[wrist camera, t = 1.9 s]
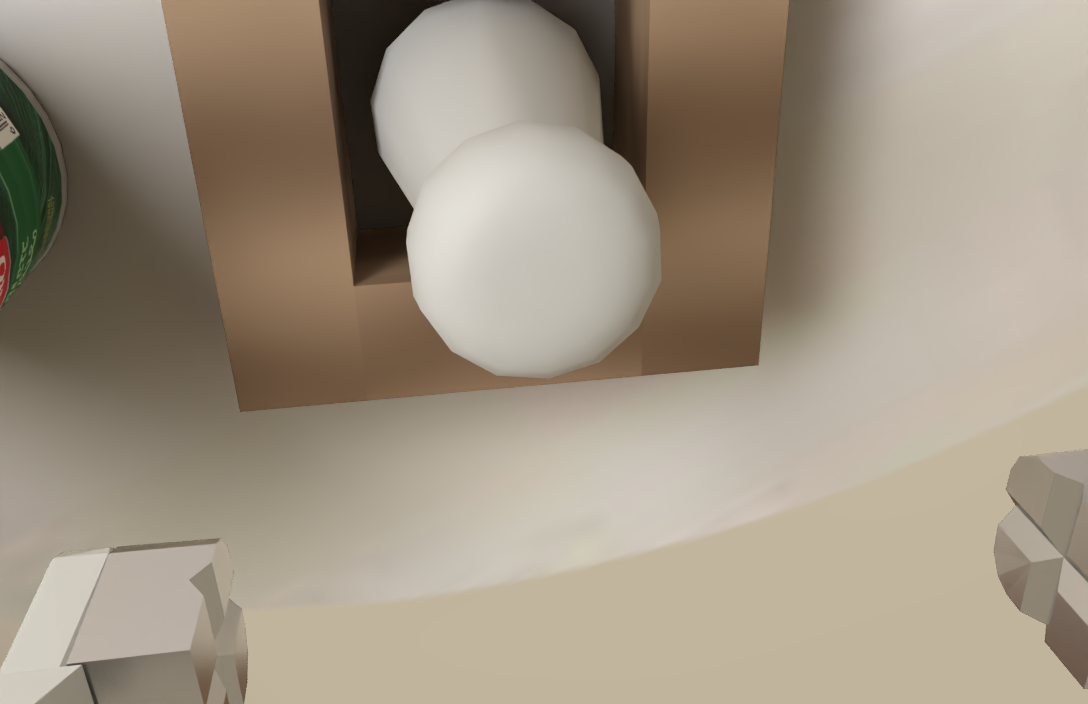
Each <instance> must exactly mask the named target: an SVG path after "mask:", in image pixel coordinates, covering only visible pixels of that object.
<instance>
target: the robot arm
mask: <svg viewBox="0 0 1088 704" xmlns="http://www.w3.org/2000/svg"><path fill="white" fill-rule="evenodd" d="M1006 490H1007V492H1008V494H1009V495H1010V497H1011V499H1012V500H1013V502H1014V503H1015V505H1016V506H1015V507H1014V508H1013V509H1012V510H1011V511H1010V512H1009V513H1008V514H1007V515H1006V517H1005V518H1004V519H1003V520H1002V521H1001V522H1000V523H999V524H998V528H997V534H996V540H995V546H994V555H995V561H996V567H997V573H998V577H999V579H1000V581H1001V583H1002V586H1003V588H1004V590H1005V592H1006V594H1007V595H1008V597H1009V598H1010V599H1011V600H1012V602H1013V603H1014V604H1015V605H1016V607H1017V608H1018V609H1019V611H1021V612H1022V613H1024V614H1026V615H1028V616H1030V617H1032V618H1035V619H1036V620H1038V621H1040V622H1042V623H1044V624H1046V634H1045V643H1046V644H1047V645H1048V646H1049V647H1050V649H1051V650H1052V651H1053V652H1054V653H1055V655H1056V656H1057V657H1058V658H1059V660H1060V661H1061V662H1062V663H1063V664H1064V666H1065V667H1066V668H1067V669H1068V670H1069V672H1070V673H1071V674H1072V675H1073V676H1074V678H1075V679H1076V680H1077V681H1078V682H1079V684H1080V685H1081V686H1082V687H1083V689H1088V449H1083V450H1074V451H1065V452H1056V453H1047V454H1038V455H1029V456H1020V457H1019V458H1018V460H1017V462H1016V463H1015V464H1014V466H1013V467H1012V468H1011V471H1010V475H1009V479H1008V483H1007V487H1006ZM233 574H234V571H233V567H232V563H231V559H230V555H229V551H228V547H227V544H226V543H225V542H224V541H223V540H222V538H217V539H205V540H193V541H181V542H168V543H156V544H144V545H132V546H120V547H116V548H100V549H90V550H80V551H70V552H62V553H61V554H59V555H58V556H56V557H55V558H53V560H52V561H51V562H50V564H49V566H48V569H47V571H46V573H45V575H44V577H43V579H42V581H41V583H40V586H39V588H38V590H37V592H36V594H35V596H34V598H33V601H32V603H31V605H30V607H29V609H28V611H27V613H26V615H25V618H24V620H23V622H22V624H21V626H20V628H19V630H18V633H17V635H16V637H15V639H14V641H13V643H12V645H11V648H10V650H9V652H8V654H7V656H6V659H5V660H4V663H3V665H2V667H1V669H0V704H244V700H245V694H246V687H247V669H248V649H247V640H246V630H245V624H244V619H243V614H242V609H241V608H240V607H239V606H238V605H237V604H235V603H234V602H233V601H232V600H230V599H229V595H230V590H231V584H232V579H233Z"/></svg>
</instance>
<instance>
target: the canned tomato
mask: <svg viewBox="0 0 1088 704" xmlns="http://www.w3.org/2000/svg"><path fill="white" fill-rule="evenodd" d="M66 203H67V171H66V166H65V162H64V158H63V153H62V149H61V145H60V142H59V140H58V138H57V135H56V133H55V131H54V129H53V127H52V124H51V122H50V120H49V118H48V115H47V114H46V112H45V111H44V110H43V108H42V107H41V105H40V104H39V102H38V101H37V99H36V98H35V96H34V95H33V93H32V92H31V90H30V89H29V88H28V87H27V86H26V85H25V84H24V83H23V81H22V80H21V79H20V78H19V77H18V76H17V75H16V74H15V73H14V72H13V71H12V70H11V69H10V68H9V67H8V66H7V65H6V64H5V63H4V62H3V61H1V60H0V309H1V308H2V307H3V306H4V304H5V303H6V302H7V301H8V300H9V298H10V297H11V296H12V294H13V293H14V292H15V291H16V290H17V288H18V287H19V286H20V284H21V283H22V282H23V281H24V279H25V278H26V277H27V276H28V275H29V273H30V272H31V271H33V270H34V269H35V267H36V266H37V265H38V264H39V263H40V261H41V260H42V259H43V258H44V257H45V255H46V254H47V253H48V252H49V251H50V249H51V247H52V245H53V243H54V241H55V239H56V237H57V234H58V232H59V230H60V228H61V226H62V222H63V217H64V213H65V208H66Z"/></svg>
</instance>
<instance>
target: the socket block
mask: <svg viewBox="0 0 1088 704" xmlns="http://www.w3.org/2000/svg"><path fill="white" fill-rule="evenodd" d="M161 3H162V8H163V13H164V18H165V23H166V29H167V34H168V39H169V44H170V49H171V55H172V60H173V65H174V70H175V75H176V81H177V86H178V91H179V96H180V101H181V107H182V112H183V117H184V122H185V127H186V133H187V138H188V143H189V148H190V153H191V158H192V164H193V169H194V174H195V179H196V184H197V190H198V195H199V200H200V205H201V210H202V216H203V221H204V226H205V231H206V236H207V242H208V247H209V252H210V257H211V262H212V268H213V273H214V278H215V283H216V288H217V294H218V299H219V304H220V309H221V314H222V320H223V325H224V330H225V335H226V340H227V346H228V351H229V356H230V361H231V366H232V372H233V377H234V382H235V387H236V392H237V397H238V403H239V408H240V412H243V411H254V410H265V409H276V408H287V407H299V406H310V405H321V404H332V403H343V402H354V401H365V400H376V399H388V398H399V397H410V396H421V395H432V394H443V393H454V392H465V391H477V390H488V389H499V388H510V387H521V386H532V385H543V384H554V383H566V382H577V381H588V380H599V379H610V378H621V377H632V376H643V375H655V374H666V373H677V372H688V371H699V370H710V369H721V368H732V367H744V366H755V365H758V363H759V351H760V339H761V328H762V316H763V304H764V292H765V280H766V268H767V257H768V245H769V233H770V221H771V209H772V197H773V186H774V174H775V162H776V150H777V138H778V126H779V114H780V103H781V91H782V79H783V67H784V55H785V43H786V32H787V20H788V8H789V0H615V68H614V152H616V153H617V154H619V155H621V156H622V157H623V158H624V159H625V160H626V161H627V162H628V163H629V164H630V165H631V166H632V167H633V169H634V171H635V173H636V175H637V177H638V179H639V180H640V182H641V184H642V186H643V188H644V190H645V192H646V194H647V195H648V197H649V199H650V201H651V203H652V205H653V207H654V209H655V210H656V212H657V216H658V221H659V227H660V249H661V282H660V284H659V286H658V289H657V291H656V293H655V295H654V297H653V299H652V301H651V303H650V305H649V307H648V309H647V311H646V313H645V316H644V318H643V320H642V322H641V324H640V326H639V328H637V329H636V330H635V331H634V332H633V333H632V334H631V335H630V336H628V337H627V338H626V339H625V340H624V341H623V342H622V343H621V344H619V345H618V346H617V347H616V348H615V349H614V350H613V351H612V352H610V353H609V354H608V355H607V356H606V357H605V358H604V359H603V360H601V361H600V362H599V363H596V364H593V365H589V366H586V367H583V368H580V369H577V370H574V371H571V372H568V373H565V374H562V375H559V376H556V377H553V378H550V379H546V378H529V377H511V376H496V375H494V374H493V373H491V372H489V371H487V370H485V369H483V368H482V367H480V366H478V365H476V364H474V363H472V362H470V361H469V360H467V359H465V358H463V357H461V356H459V355H458V354H456V353H454V352H452V351H451V350H450V349H449V347H448V346H447V345H446V343H445V342H444V341H443V339H442V338H441V337H440V335H439V334H438V333H437V331H436V330H435V329H434V327H433V326H432V325H431V323H430V322H429V321H428V319H427V318H426V317H425V315H424V314H423V313H422V311H421V310H420V308H419V306H418V304H417V302H416V300H415V298H414V296H413V290H412V283H411V275H410V268H409V260H408V253H407V245H406V239H407V229H408V226H404V227H390V228H376V229H362V230H358V228H357V220H356V211H355V203H354V194H353V186H352V177H351V169H350V160H349V152H348V143H347V135H346V126H345V118H344V109H343V101H342V92H341V84H340V75H339V67H338V58H337V50H336V41H335V33H334V24H333V16H332V7H331V0H161Z"/></svg>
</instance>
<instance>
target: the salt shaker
mask: <svg viewBox="0 0 1088 704" xmlns="http://www.w3.org/2000/svg"><path fill="white" fill-rule="evenodd" d="M370 102H371V109H372V116H373V122H374V129H375V136H376V142H377V149H378V153H379V155H380V156H381V158H382V159H383V161H384V163H385V164H386V166H387V167H388V169H389V170H390V172H391V174H392V175H393V177H394V178H395V180H396V181H397V183H398V185H399V186H400V188H401V189H402V191H403V192H404V194H405V196H406V197H407V199H408V200H409V202H410V203H411V205H412V207H413V208H414V211H413V214H412V217H411V220H410V223H409V226H408V229H407V239H406V245H407V253H408V260H409V268H410V275H411V283H412V290H413V296H414V298H415V300H416V302H417V304H418V306H419V308H420V310H421V311H422V313H423V314H424V315H425V317H426V318H427V319H428V321H429V322H430V323H431V325H432V326H433V327H434V329H435V330H436V331H437V333H438V334H439V335H440V337H441V338H442V339H443V341H444V342H445V343H446V345H447V346H448V347H449V349H450V350H451V351H452V352H454V353H456V354H458V355H459V356H461V357H463V358H465V359H467V360H469V361H470V362H472V363H474V364H476V365H478V366H480V367H482V368H483V369H485V370H487V371H489V372H491V373H493V374H494V375H496V376H511V377H529V378H546V379H550V378H553V377H556V376H559V375H562V374H565V373H568V372H571V371H574V370H577V369H580V368H583V367H586V366H589V365H593V364H596V363H599V362H600V361H601V360H603V359H604V358H605V357H606V356H607V355H608V354H609V353H610V352H612V351H613V350H614V349H615V348H616V347H617V346H618V345H619V344H621V343H622V342H623V341H624V340H625V339H626V338H627V337H628V336H630V335H631V334H632V333H633V332H634V331H635V330H636V329H637V328H639V326H640V324H641V322H642V320H643V318H644V316H645V313H646V311H647V309H648V307H649V305H650V303H651V301H652V299H653V297H654V295H655V293H656V291H657V289H658V286H659V284H660V282H661V249H660V227H659V221H658V216H657V212H656V210H655V209H654V207H653V205H652V203H651V201H650V199H649V197H648V195H647V194H646V192H645V190H644V188H643V186H642V184H641V182H640V180H639V179H638V177H637V175H636V173H635V171H634V169H633V167H632V166H631V165H630V164H629V163H628V162H627V161H626V160H625V159H624V158H623V157H622V156H621V155H619V154H617V153H616V152H614V151H613V150H611V149H610V148H608V147H607V146H605V145H604V142H603V124H602V109H601V94H600V80H599V75H598V73H597V71H596V69H595V67H594V65H593V63H592V61H591V59H590V57H589V55H588V53H587V51H586V50H585V48H584V46H583V44H582V42H581V40H580V38H579V36H578V34H577V32H576V30H575V29H574V28H572V27H571V26H569V25H568V24H566V23H565V22H563V21H562V20H560V19H559V18H557V17H556V16H554V15H553V14H551V13H550V12H548V11H547V10H545V9H544V8H542V7H541V6H539V5H538V4H536V3H535V2H533V1H532V0H450V1H448V2H445V3H442V4H439V5H436V6H434V7H431V8H428V9H425V10H424V11H423V12H422V13H421V14H420V15H419V16H418V17H417V18H416V19H415V20H414V21H413V22H412V23H411V24H410V25H409V26H408V27H407V28H406V29H405V30H404V31H403V32H402V33H401V34H400V35H399V36H398V37H397V38H396V39H395V40H394V41H393V42H392V43H391V45H390V46H389V47H388V48H387V49H386V51H385V55H384V58H383V61H382V64H381V67H380V71H379V74H378V77H377V80H376V84H375V87H374V90H373V93H372V96H371V100H370Z"/></svg>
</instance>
